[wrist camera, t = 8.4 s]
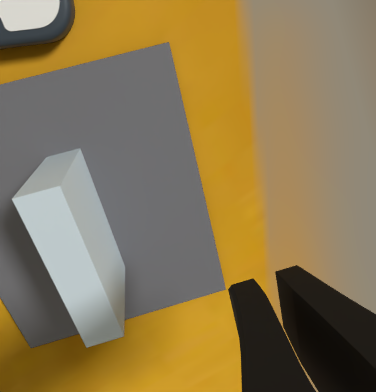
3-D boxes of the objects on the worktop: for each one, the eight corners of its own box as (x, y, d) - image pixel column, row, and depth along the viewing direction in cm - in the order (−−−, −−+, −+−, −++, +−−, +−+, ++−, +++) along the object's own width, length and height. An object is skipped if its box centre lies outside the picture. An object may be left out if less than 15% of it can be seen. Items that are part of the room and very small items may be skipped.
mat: (224, 285, 20) (225, 289, 20) (32, 342, 20) (30, 348, 19) (167, 42, 15) (168, 42, 14) (-105, 111, 14) (-112, 112, 14)
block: (125, 266, 18) (124, 336, 14) (97, 275, 18) (86, 347, 14) (80, 147, 15) (59, 185, 11) (46, 157, 15) (11, 199, 11)
